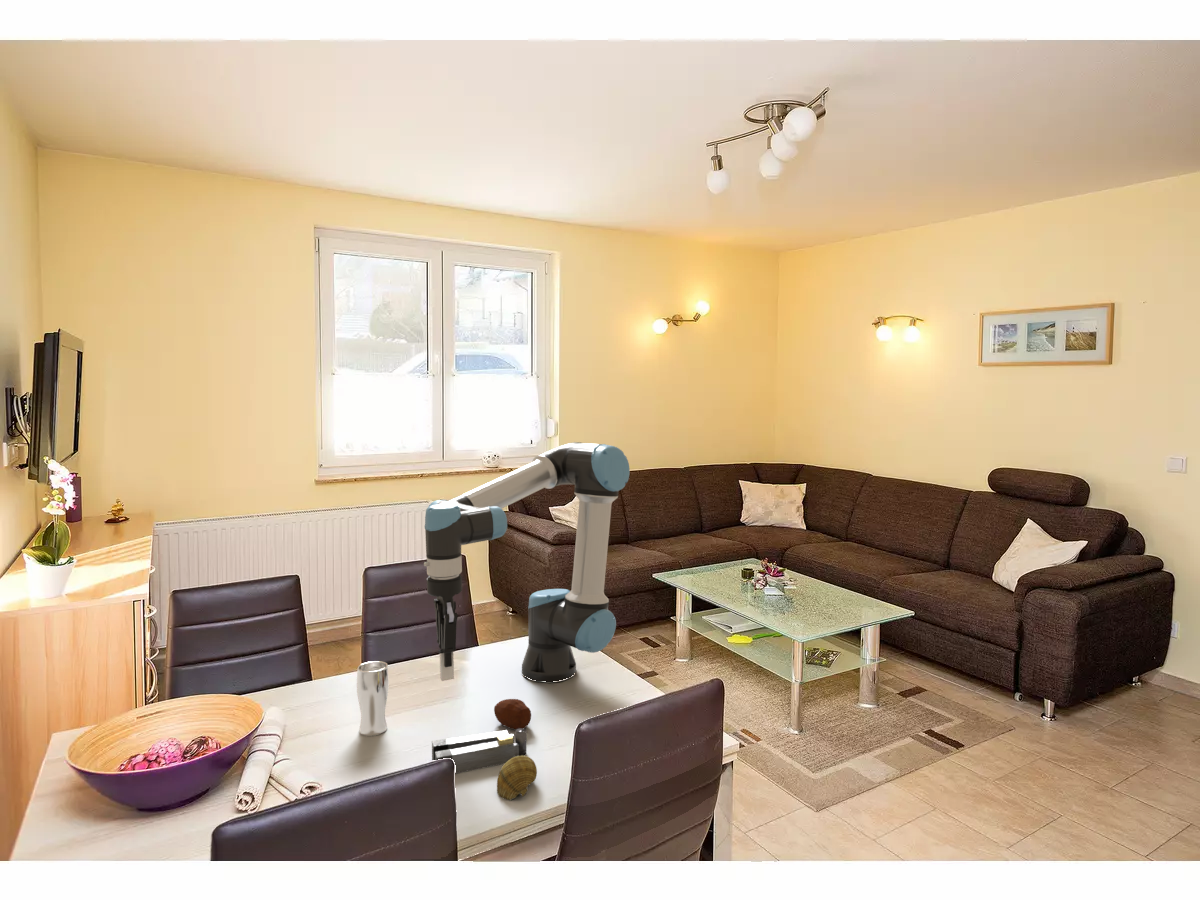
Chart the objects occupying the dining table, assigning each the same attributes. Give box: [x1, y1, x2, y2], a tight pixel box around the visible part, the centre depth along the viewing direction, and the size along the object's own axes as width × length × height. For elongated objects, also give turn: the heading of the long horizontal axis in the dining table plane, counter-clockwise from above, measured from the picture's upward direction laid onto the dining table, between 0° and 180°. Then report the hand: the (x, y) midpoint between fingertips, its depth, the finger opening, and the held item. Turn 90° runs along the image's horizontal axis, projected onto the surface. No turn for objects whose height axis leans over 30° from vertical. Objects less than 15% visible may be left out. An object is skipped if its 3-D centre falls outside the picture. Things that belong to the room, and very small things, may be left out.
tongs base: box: [435, 728, 528, 774], centre depth 150 cm, size 20×4×5 cm, turn 114°
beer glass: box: [356, 660, 390, 737], centre depth 163 cm, size 7×7×15 cm
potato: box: [493, 698, 532, 731], centre depth 167 cm, size 7×9×6 cm
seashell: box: [496, 755, 538, 801], centre depth 141 cm, size 10×7×8 cm
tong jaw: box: [431, 729, 515, 760], centre depth 152 cm, size 17×2×4 cm, turn 110°
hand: (447, 678), depth 159 cm, fingers closed
